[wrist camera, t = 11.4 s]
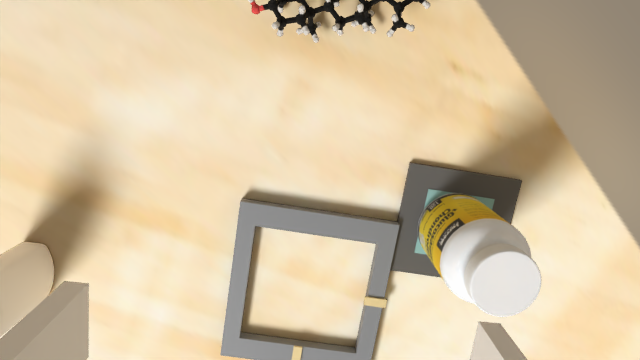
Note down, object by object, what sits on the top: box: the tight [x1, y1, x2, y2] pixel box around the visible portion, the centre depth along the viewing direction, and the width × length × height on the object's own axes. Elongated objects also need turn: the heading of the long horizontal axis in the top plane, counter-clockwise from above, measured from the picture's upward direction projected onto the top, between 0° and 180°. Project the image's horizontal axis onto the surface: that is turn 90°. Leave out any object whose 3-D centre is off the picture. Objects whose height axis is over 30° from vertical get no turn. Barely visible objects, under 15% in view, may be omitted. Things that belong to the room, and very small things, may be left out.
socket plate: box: [221, 199, 400, 360], centre depth 42 cm, size 15×14×1 cm
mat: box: [390, 162, 522, 277], centre depth 41 cm, size 10×10×1 cm
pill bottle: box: [418, 193, 541, 317], centre depth 35 cm, size 6×6×12 cm
